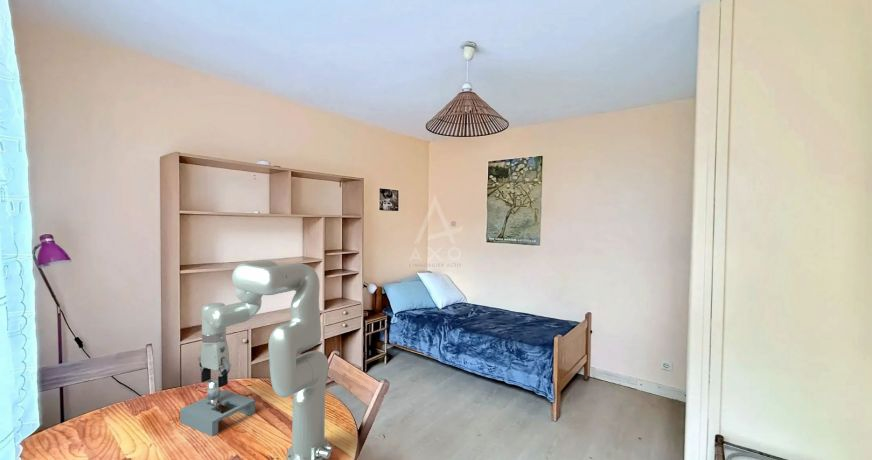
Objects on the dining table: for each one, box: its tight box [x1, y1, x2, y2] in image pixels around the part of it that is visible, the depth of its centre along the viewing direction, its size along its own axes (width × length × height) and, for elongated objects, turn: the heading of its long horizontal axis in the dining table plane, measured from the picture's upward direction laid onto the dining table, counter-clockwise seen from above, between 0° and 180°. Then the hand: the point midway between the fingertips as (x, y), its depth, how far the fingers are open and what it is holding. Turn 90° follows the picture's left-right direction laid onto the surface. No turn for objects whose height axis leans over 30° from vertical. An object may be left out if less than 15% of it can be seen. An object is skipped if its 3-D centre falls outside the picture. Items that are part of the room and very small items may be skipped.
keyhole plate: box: [179, 389, 256, 437], centre depth 126 cm, size 18×16×5 cm
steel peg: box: [206, 378, 222, 413], centre depth 128 cm, size 5×5×13 cm
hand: (214, 383), depth 127 cm, fingers open, 9 cm apart
